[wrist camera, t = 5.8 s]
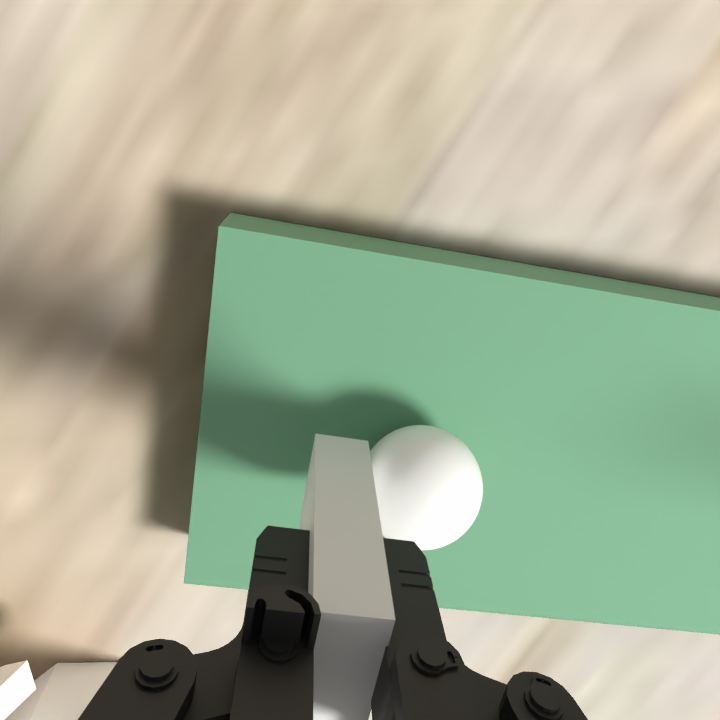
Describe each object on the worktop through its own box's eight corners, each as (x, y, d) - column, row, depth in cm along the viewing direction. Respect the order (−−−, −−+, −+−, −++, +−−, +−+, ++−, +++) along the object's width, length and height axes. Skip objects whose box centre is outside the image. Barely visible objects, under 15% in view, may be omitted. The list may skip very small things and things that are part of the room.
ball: (421, 476, 14) (525, 460, 16) (351, 407, 17) (446, 400, 19) (388, 590, 16) (488, 563, 17) (328, 508, 18) (419, 493, 20)
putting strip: (230, 212, 18) (-14, 476, 5) (969, 340, 21) (2050, 709, 8) (197, 536, 22) (19, 1155, 9) (817, 602, 26) (1358, 1127, 12)
